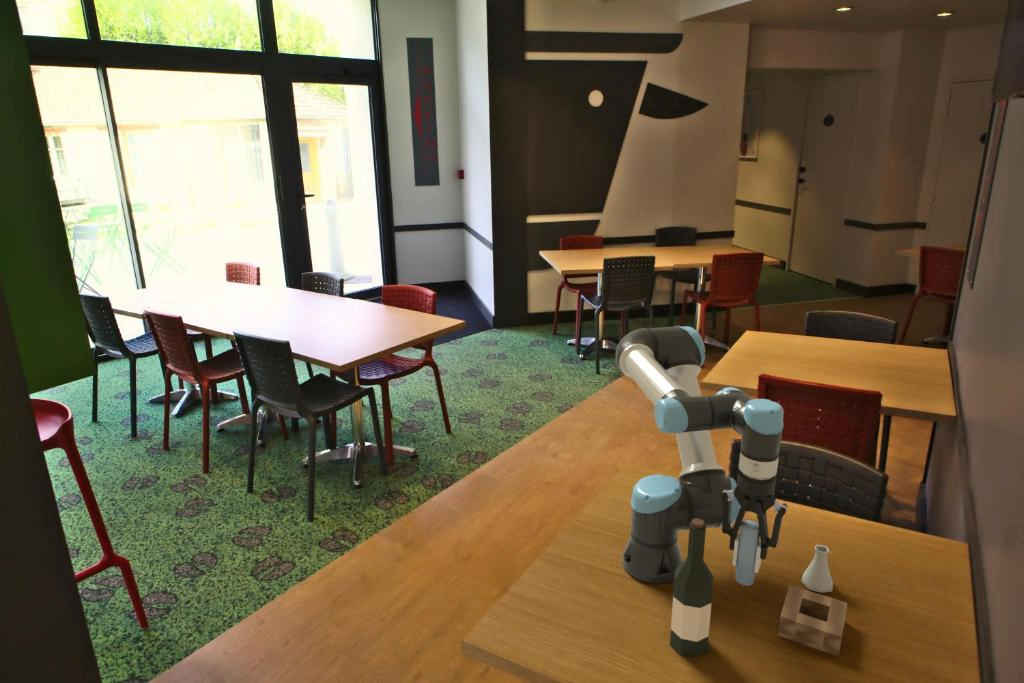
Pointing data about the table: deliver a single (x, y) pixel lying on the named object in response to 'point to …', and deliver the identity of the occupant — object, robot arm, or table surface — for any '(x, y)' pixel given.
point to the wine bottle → (692, 597)
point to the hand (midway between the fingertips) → (746, 565)
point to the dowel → (747, 552)
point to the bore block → (813, 620)
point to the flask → (818, 572)
